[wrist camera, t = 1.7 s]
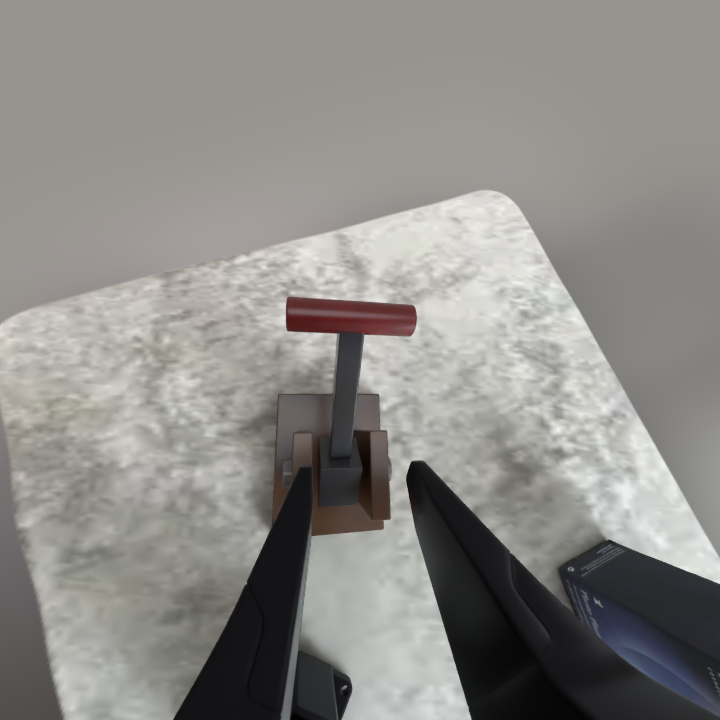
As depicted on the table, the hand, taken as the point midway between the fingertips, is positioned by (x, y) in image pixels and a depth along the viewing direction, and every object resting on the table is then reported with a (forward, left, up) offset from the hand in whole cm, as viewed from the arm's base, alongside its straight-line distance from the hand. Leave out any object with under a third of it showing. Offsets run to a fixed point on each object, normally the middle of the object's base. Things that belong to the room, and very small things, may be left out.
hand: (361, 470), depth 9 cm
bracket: (-1, 0, -14) cm, 14 cm away
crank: (+3, +1, -5) cm, 6 cm away
